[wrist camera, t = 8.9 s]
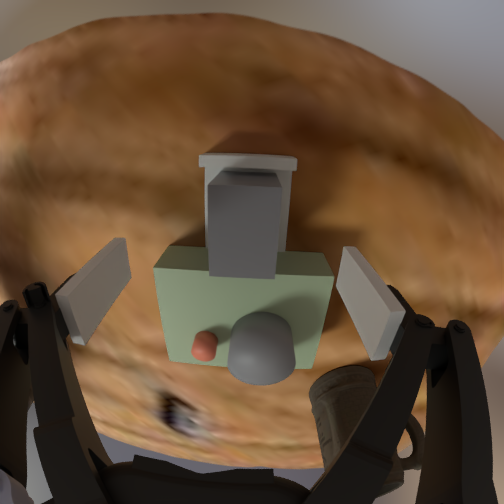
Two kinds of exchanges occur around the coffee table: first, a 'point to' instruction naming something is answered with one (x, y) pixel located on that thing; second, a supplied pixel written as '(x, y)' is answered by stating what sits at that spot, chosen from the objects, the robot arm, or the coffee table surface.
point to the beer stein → (356, 419)
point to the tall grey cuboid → (243, 224)
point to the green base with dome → (244, 296)
